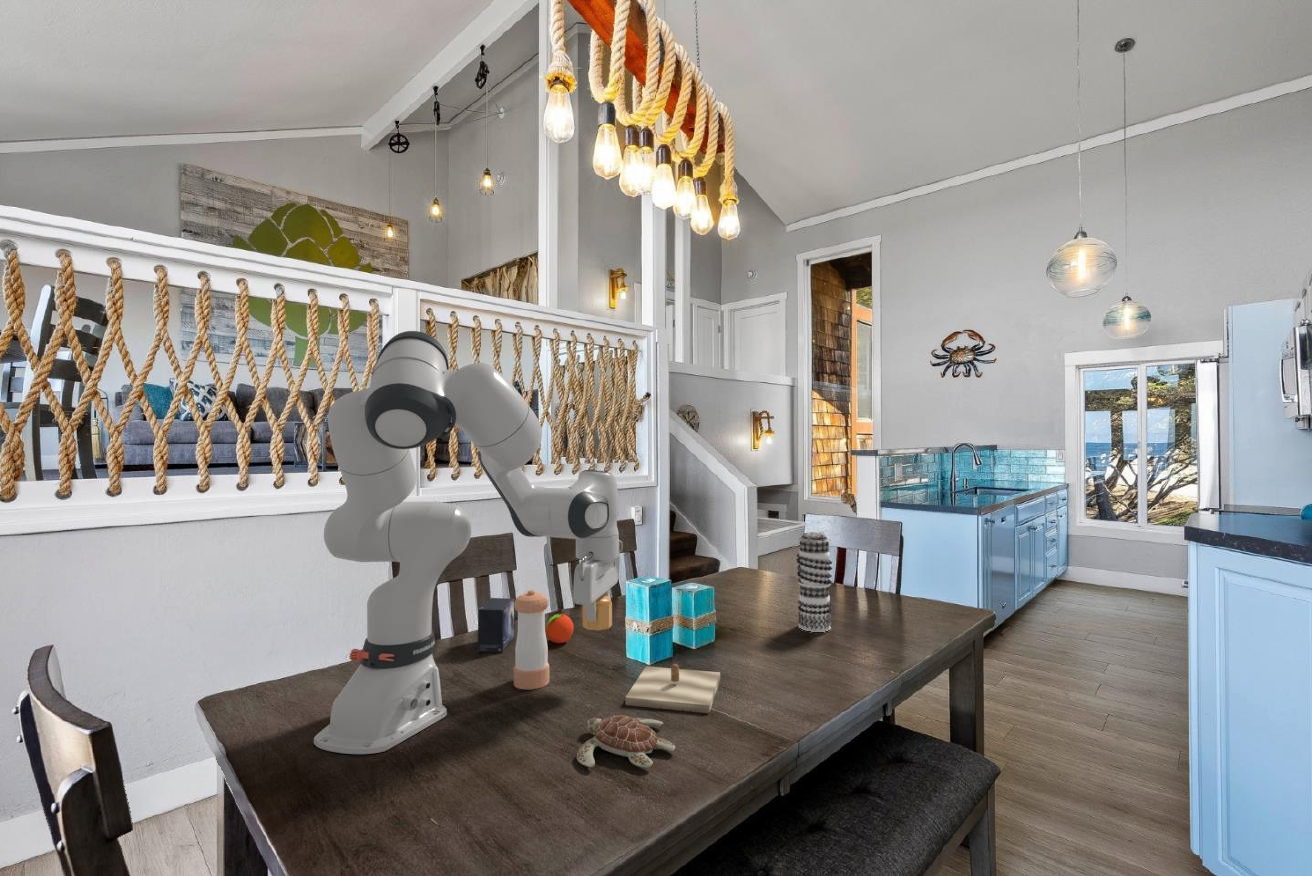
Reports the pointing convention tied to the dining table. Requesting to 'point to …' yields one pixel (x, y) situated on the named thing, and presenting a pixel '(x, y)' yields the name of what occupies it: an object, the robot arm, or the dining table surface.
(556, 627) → the clementine
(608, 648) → the dining table surface
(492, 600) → the small box
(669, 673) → the square peg board
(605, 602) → the tan rounded cylinder
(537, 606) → the salt shaker
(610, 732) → the decorative turtle
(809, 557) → the decorative candle
